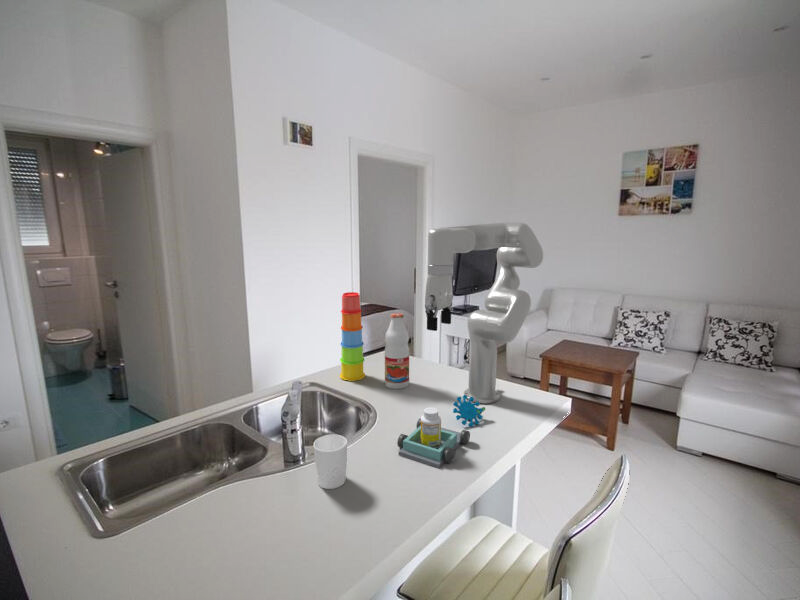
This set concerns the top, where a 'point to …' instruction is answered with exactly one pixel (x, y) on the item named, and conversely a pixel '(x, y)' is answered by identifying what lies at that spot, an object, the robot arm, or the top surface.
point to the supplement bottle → (431, 428)
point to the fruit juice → (396, 353)
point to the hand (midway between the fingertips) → (439, 326)
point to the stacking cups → (351, 338)
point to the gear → (468, 410)
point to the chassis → (428, 454)
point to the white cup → (330, 460)
